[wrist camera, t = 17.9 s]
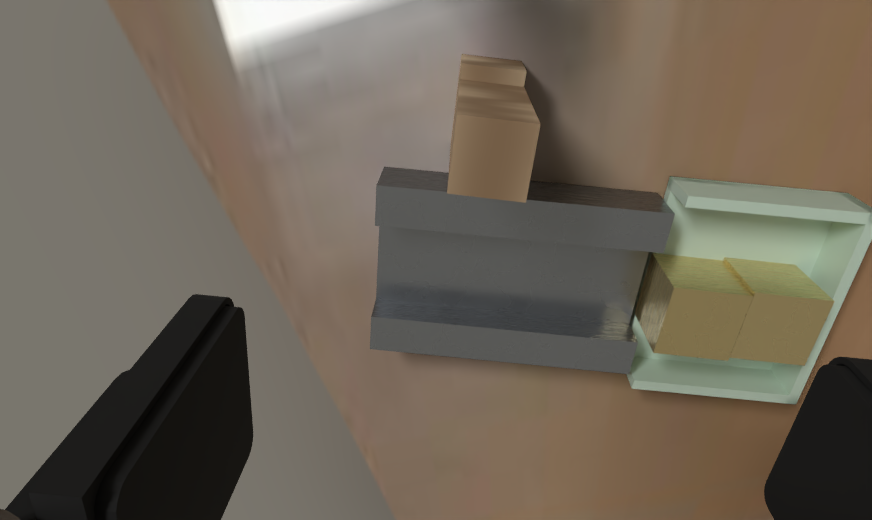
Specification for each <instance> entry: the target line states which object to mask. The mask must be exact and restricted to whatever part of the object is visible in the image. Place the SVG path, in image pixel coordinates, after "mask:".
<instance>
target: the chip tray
mask: <svg viewBox="0 0 872 520" xmlns="http://www.w3.org/2000/svg"><path fill="white" fill-rule="evenodd" d="M664 201H665V202H666V204H667V205H668V206H669V207H670V208H671V210H672V211H673V212H674V213H675V216H674V219H673V223H672V226H671V230H670V233H669V236H668V240H667V243H666V247H665V250H664V253H659V254H668V255H677V256H687V257H696V258H705V259H714V260H723V259H724V257H728V258H737V259H747V260H756V261H765V262H775V263H784V264H793V265H796V266H797V267H798V268H799V269H800V270H802V271H803V272H804V273H805V274H806V275H807V276H808V277H809V278H810V279H811V280H812V281H813V282H814V283H816V284H817V285H818V286H819V287H820V288H821V289H822V290H823V291H824V292H825V293H826V294H827V295H829V296H830V297H831V298H832V299H833V300H834V301H835V302H834V304H833V306H832V308H831V310H830V313H829V315H828V317H827V319H826V321H825V323H824V325H823V327H822V330H821V332H820V334H819V336H818V338H817V340H816V342H815V345H814V347H813V349H812V351H811V353H810V355H809V357H808V360H807V362H806V364H805V366H802V365H793V364H783V363H774V362H765V361H756V360H746V359H737V358H730V357H729V360H728V361H724V360H715V359H706V358H696V357H687V356H678V355H669V354H659V353H653V351H652V349H651V347H650V345H649V343H648V340H647V338H646V336H645V334H644V332H643V330H642V328H641V326H640V324H639V322H638V319H637V317H636V315H635V310H636V306H637V303H638V299H639V296H640V293H641V289H642V286H643V282H644V279H645V275H646V272H647V269H648V265H649V262H650V258H651V255H652V253H656V252H649V254H648V258H647V262H646V265H645V269H644V273H643V276H642V280H641V283H640V287H639V291H638V294H637V298H636V302H635V305H634V309H633V313H632V316H631V320H630V326H631V328H632V330H633V333H634V335H635V337H636V339H637V341H638V344H637V348H636V351H635V355H634V358H633V362H632V365H631V369H630V372H629V374H626V375H627V377H628V380H629V382H630V385H631V388H632V389H642V390H652V391H663V392H673V393H683V394H694V395H704V396H714V397H724V398H735V399H745V400H755V401H766V402H776V403H786V404H796V403H797V401H798V399H799V397H800V395H801V392H802V390H803V388H804V386H805V384H806V382H807V379H808V377H809V375H810V373H811V371H812V368H813V366H814V364H815V362H816V360H817V358H818V355H819V353H820V351H821V349H822V347H823V345H824V342H825V340H826V338H827V336H828V334H829V331H830V329H831V327H832V325H833V323H834V321H835V318H836V316H837V314H838V312H839V310H840V308H841V305H842V303H843V301H844V299H845V297H846V294H847V292H848V290H849V288H850V286H851V284H852V281H853V279H854V277H855V275H856V273H857V271H858V268H859V266H860V264H861V262H862V260H863V257H864V255H865V253H866V251H867V249H868V247H869V244H870V242H871V240H872V207H870V206H868V205H867V204H865V203H863V202H862V201H860V200H859V199H857V198H855V197H854V196H852V195H850V194H849V193H840V192H830V191H819V190H809V189H798V188H788V187H777V186H767V185H756V184H746V183H736V182H725V181H715V180H704V179H694V178H683V177H673V176H670V178H669V182H668V185H667V189H666V192H665V196H664Z"/></svg>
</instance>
